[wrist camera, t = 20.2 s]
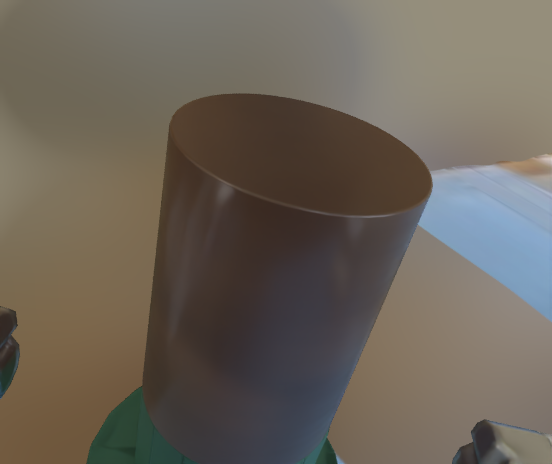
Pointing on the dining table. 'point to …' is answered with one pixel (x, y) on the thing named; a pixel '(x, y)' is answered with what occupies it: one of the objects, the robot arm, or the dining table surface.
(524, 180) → the dining table surface
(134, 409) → the bottle
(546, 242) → the dining table surface
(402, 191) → the stopper
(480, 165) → the dining table surface
